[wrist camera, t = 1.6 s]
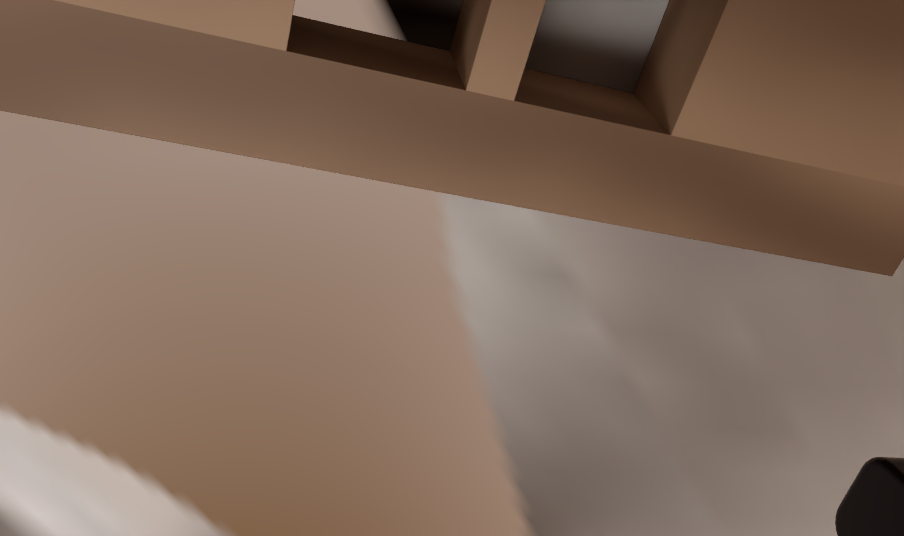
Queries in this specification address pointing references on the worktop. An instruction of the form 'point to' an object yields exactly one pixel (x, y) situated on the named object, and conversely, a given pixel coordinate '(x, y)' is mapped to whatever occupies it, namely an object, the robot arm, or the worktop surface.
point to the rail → (516, 109)
